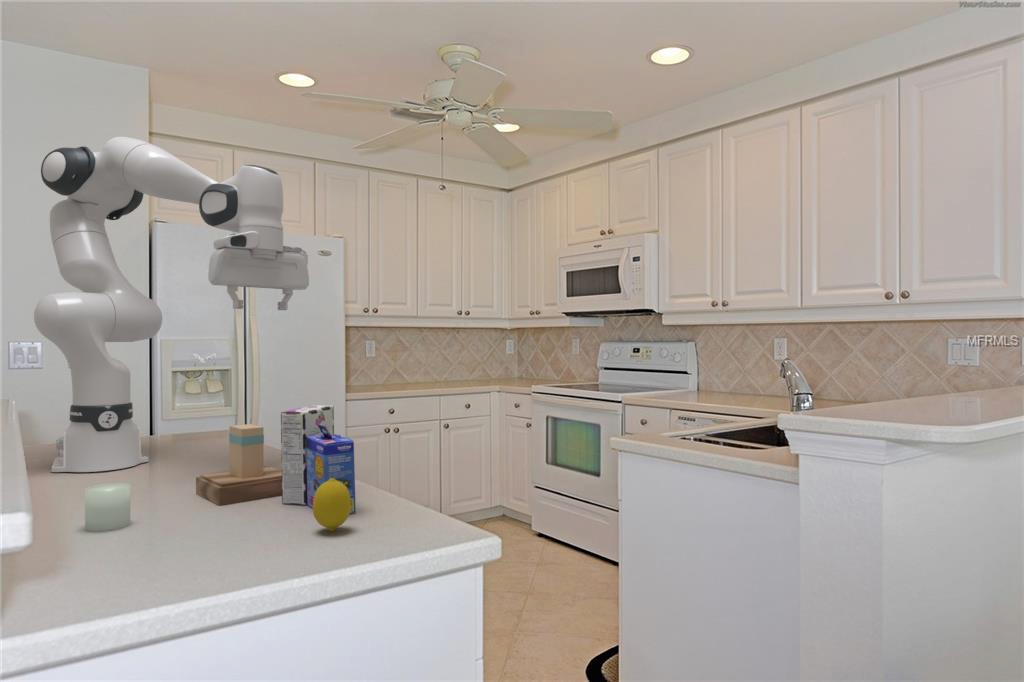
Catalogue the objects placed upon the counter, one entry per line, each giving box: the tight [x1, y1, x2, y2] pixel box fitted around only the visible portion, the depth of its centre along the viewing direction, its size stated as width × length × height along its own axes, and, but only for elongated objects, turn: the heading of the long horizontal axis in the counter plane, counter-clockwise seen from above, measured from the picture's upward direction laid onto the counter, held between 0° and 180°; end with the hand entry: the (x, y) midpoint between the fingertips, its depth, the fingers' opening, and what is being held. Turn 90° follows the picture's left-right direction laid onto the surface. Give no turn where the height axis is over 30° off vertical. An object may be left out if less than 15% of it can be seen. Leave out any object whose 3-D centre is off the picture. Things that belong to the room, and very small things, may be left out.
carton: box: [228, 423, 265, 479], centre depth 123 cm, size 6×4×9 cm
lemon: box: [312, 478, 351, 532], centre depth 99 cm, size 6×6×8 cm
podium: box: [195, 465, 282, 506], centre depth 123 cm, size 12×14×4 cm
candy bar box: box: [280, 404, 335, 506], centre depth 120 cm, size 11×5×16 cm, turn 168°
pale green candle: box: [84, 482, 132, 533], centre depth 101 cm, size 6×6×6 cm
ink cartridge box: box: [306, 424, 357, 514], centre depth 112 cm, size 10×6×14 cm, turn 35°
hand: (260, 309), depth 138 cm, fingers open, 8 cm apart
